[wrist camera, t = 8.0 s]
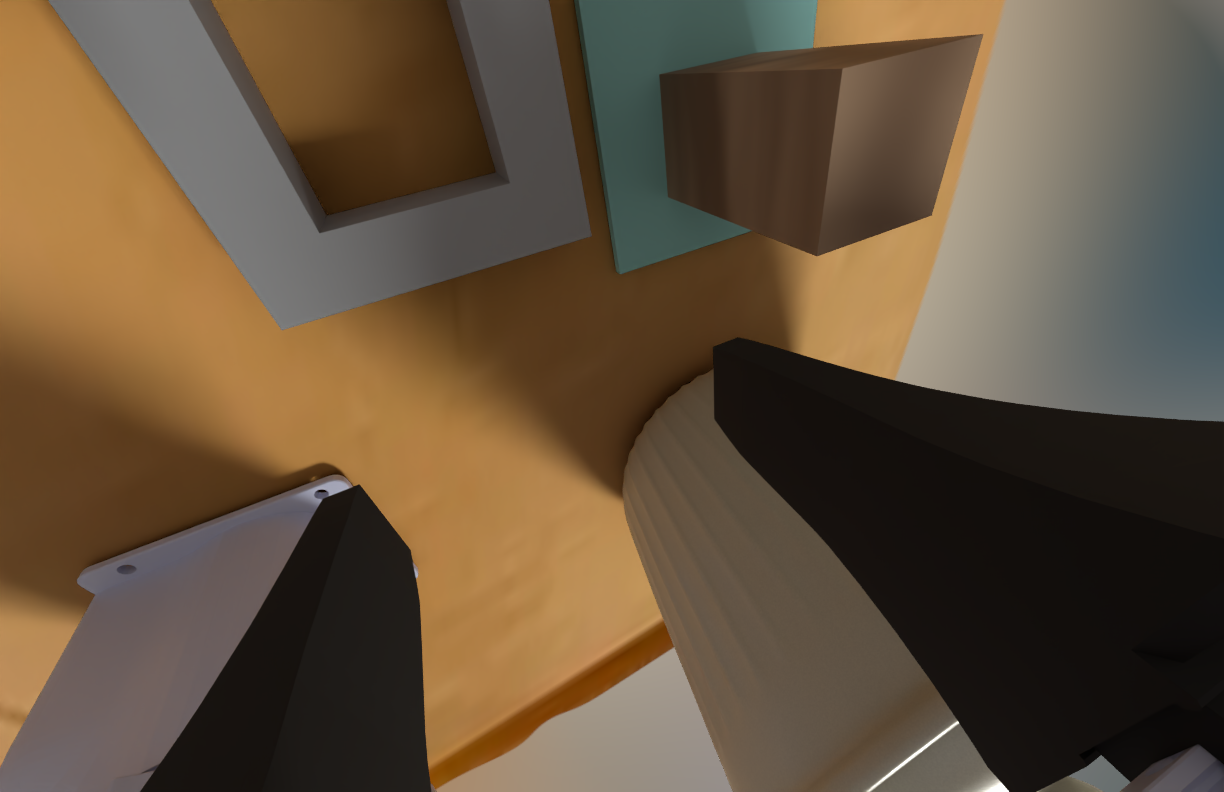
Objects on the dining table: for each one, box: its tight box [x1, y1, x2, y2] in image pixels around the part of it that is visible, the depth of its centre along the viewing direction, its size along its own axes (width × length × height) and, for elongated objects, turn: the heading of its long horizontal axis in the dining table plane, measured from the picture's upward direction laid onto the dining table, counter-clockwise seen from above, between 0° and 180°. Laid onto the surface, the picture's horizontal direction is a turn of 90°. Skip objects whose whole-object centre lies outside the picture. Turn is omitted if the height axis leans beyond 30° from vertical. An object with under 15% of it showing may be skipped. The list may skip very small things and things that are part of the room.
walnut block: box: [659, 34, 983, 256], centre depth 14 cm, size 4×4×8 cm
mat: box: [574, 0, 817, 274], centre depth 17 cm, size 9×9×1 cm
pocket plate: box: [48, 0, 592, 330], centre depth 12 cm, size 10×10×2 cm
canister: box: [623, 369, 1103, 792], centre depth 20 cm, size 18×18×21 cm
